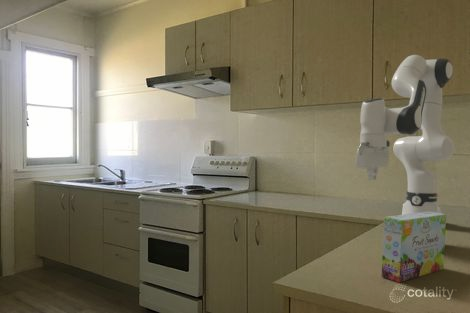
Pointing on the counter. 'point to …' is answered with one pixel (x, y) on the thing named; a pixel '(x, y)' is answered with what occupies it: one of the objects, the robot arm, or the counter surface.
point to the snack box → (413, 245)
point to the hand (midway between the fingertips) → (372, 180)
